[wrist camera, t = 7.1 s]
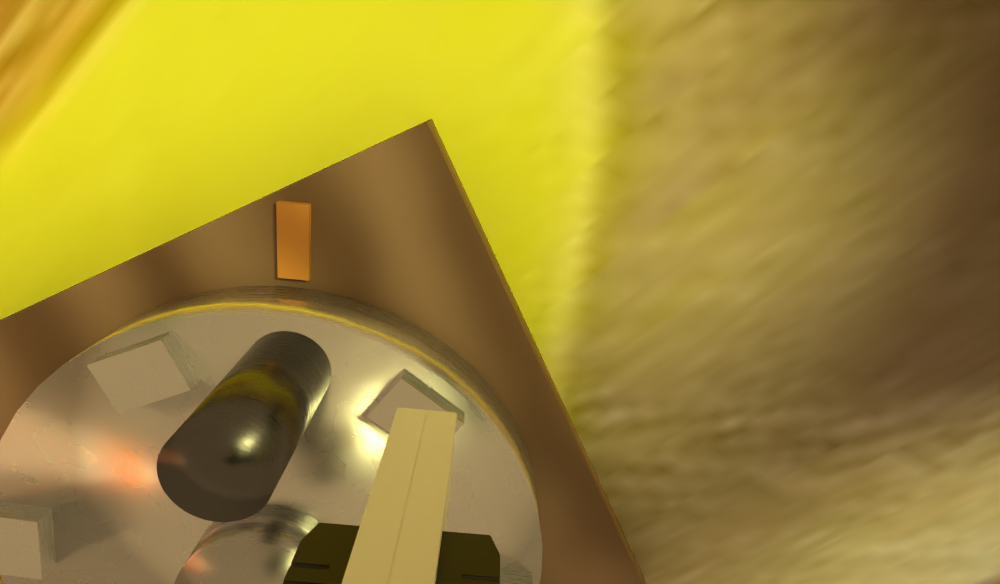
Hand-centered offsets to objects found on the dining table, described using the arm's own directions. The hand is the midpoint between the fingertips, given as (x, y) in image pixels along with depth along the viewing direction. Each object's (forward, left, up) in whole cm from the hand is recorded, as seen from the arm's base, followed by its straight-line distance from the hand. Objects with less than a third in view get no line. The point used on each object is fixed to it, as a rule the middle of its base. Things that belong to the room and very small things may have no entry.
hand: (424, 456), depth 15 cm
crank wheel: (+10, +6, -9) cm, 15 cm away
